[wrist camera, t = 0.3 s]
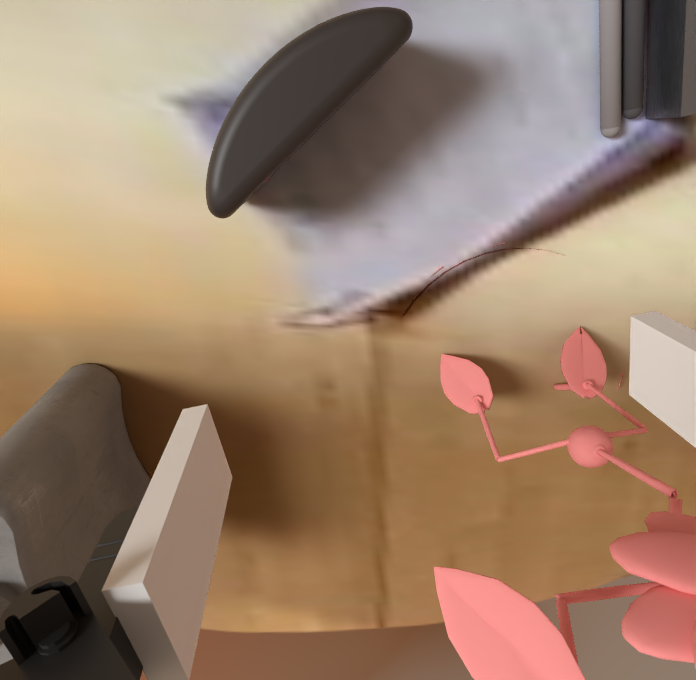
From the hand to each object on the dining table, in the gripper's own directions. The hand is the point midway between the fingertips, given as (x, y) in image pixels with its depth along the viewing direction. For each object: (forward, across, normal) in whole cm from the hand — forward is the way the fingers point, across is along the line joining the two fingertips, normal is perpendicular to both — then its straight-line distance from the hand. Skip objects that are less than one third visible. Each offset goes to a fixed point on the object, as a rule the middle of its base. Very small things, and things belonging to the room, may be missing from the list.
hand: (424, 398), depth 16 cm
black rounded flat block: (+28, -2, +9) cm, 29 cm away
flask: (+28, -26, -13) cm, 40 cm away
